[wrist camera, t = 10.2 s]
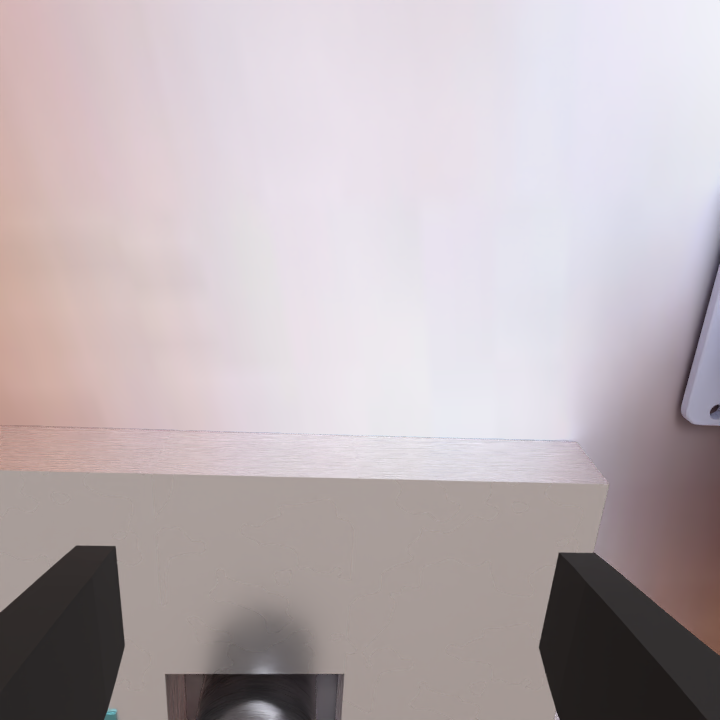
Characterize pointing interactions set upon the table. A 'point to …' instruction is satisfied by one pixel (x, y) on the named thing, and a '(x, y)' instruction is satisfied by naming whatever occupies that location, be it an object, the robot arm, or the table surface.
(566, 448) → the plate
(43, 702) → the robot arm
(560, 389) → the table surface
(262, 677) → the cylinder
